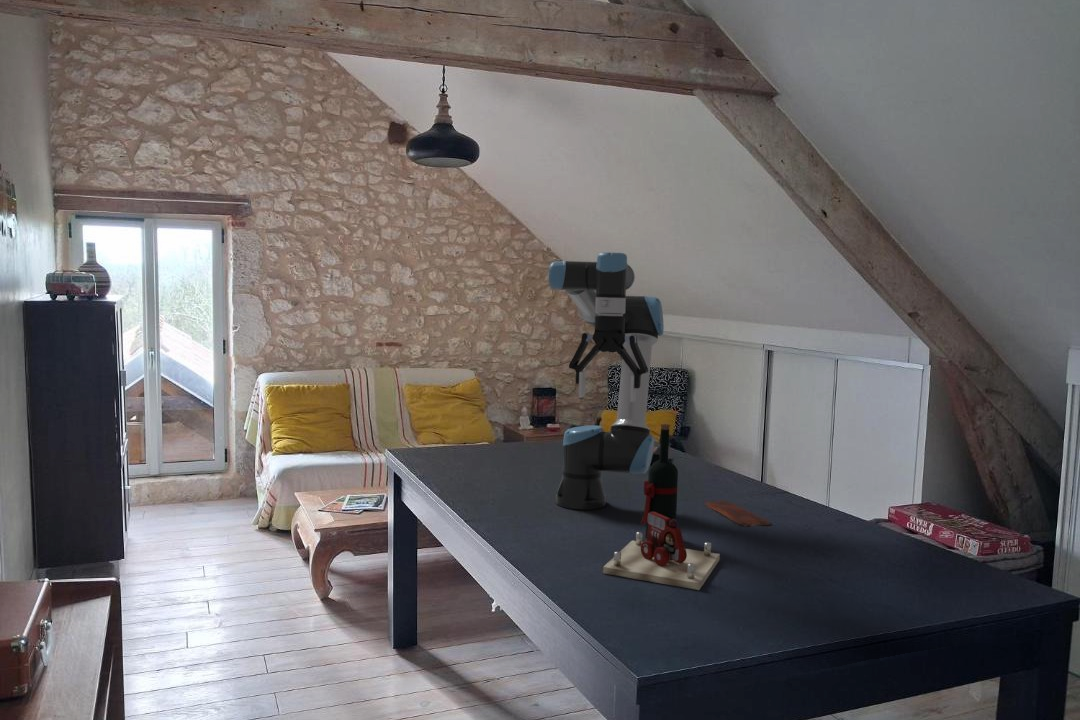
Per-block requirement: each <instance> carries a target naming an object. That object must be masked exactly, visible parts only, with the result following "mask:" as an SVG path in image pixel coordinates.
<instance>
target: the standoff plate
mask: <svg viewBox="0 0 1080 720" xmlns="http://www.w3.org/2000/svg"><path fill="white" fill-rule="evenodd" d="M643 542H644V541H643V532H642V531H636V532H635V540H631V541H630V542H629V543H628V544H626V546H624V547H623V548H622V549H621V550H620V551H614V552H613V557H612V558H611V559H610V560H609V561H608V562H607V563H606V564H605V565H604V566H603V569H602V574H605V575H612V576H616V577H623V578H629V579H634V580H640V581H646V582H651V583H657V584H662V585H668V586H673V587H674V586H675V587H680V588H686V589H691V590H697V591H700V589H701V588H702V586H704V584H705V583H706V581H707V579H708V578H709V576H710V575H711V573H712V572H713V570H714V569H715V567H716V566H717V564H718V563H719V562H720V560H721V559H720V555H721V554H720V553H715V552H711V551H712V542H708V541H705V542H704V543H703V544H704V545H703V547H704V548H703V551H702V550H696V549H691V548H685V549H686V552H687V557H686V560H685V561H684V562H676V561H674V560H669V561H668V563H667V564H666V565H663V566H659V565H658V564H657V563H656V562H655V560H654V557H653V558H650V559H646V558H644V557H643V555H642V553H641V544H642V543H643Z"/></svg>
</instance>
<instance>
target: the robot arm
mask: <svg viewBox="0 0 1080 720" xmlns="http://www.w3.org/2000/svg"><path fill="white" fill-rule="evenodd" d="M547 277H548V285H549V287H550V288H551V289H552V290H558V291H565V292H566V294H567V295H568V297H569V298H570V299H571V300H572V301H573V303H574V304H575V305H576V307H577V310H578V314H579V316H580V317H581V319H582V320H584V322H585V323H586V324H589V325H590V326H591V327H593V328H594V332H593V333H592V334H591V333H590V332H583V333H582V334H581V340H580V344H579V346H578V347H577V349H576V351H575V353H574V355H573V357H572V359H571V361H570V362H569V365H568V367H569V369H572V370H574V371H575V384H576V385H578V398H585V397H586V383H587V382H586V379H587V378H586V377H587V375H586V373H587V372H586V371H587V370H586V371H584V369H585V368H586V367H587V366H588V365H589V363H591V361H592V360H593V359H594V358H595V357H596V356H597V355H598V353H600V351H601V352H602V353H606V352H609V353H616V352H617V353H616V354H618V355H619V356H620V357H621V367H620V368H621V370H620V377H619V379H620V381H619V392H618V402H617V412H616V413H617V414H616V420H615V422H613V423H612V424H611V425H610V431H604V428H603V426H601V425H596V424H595V425H591V424H589V425H581V426H575V427H570V428H568V429H566V430H565V432H564V434H563V443H562V476H561V480H560V483H559V484H558V485H559V486H558V488H557V491H556V494H555V503H556V505H558V506H560V507H562V508H566V509H571V510H584V511H585V510H597V509H600V508H604V507H606V504H607V495H606V491H605V488H604V485H603V482H602V472H609V473H620V474H629V475H632V474H634V475H636V474H637V475H643V474H646V473H647V472H648V471H649V469H650V467H651V466H650V463H651V460H652V455H653V450H654V447H655V436H654V435H652V434H651V433H650V432H651V429H650V427H649V426H648V425H647V424H646V419H647V409H648V408H647V407H648V396H649V385H650V373H651V360H652V348H653V346H654V345H655V344H657V343H658V339H659V337H660V336H663V335H664V330H665V329H664V328H665V327H664V312H663V306H662V305H663V304H662V302H661V300H660V298H659V297H656V296H647V295H638V296H637V295H627V294H626V293H627V291H628V290H629V289H630V288H631V287H632V286H633V284H634V282H635V277H636V276H635V271H634V269H633V268H632V267H631V265H629V264H628V255H627V253H623V252H611V251H610V252H608V251H607V252H599V254H597V258H596V261H571V260H569V261H568V260H567V261H566V260H561V261H560V260H555V261H553V262H551V263H550V265H549V268H548V275H547ZM658 336H659V337H658ZM592 340H593V342H594V344H595V345H593V347H592V348H591V350H590V351H589V352H588V353H587V354H586V356H585V357H584V358H583V359H582V360H581V358H582V356H583V354H584V353H585V351H586V349H587V347H588V345H589V343H590V342H592Z"/></svg>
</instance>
